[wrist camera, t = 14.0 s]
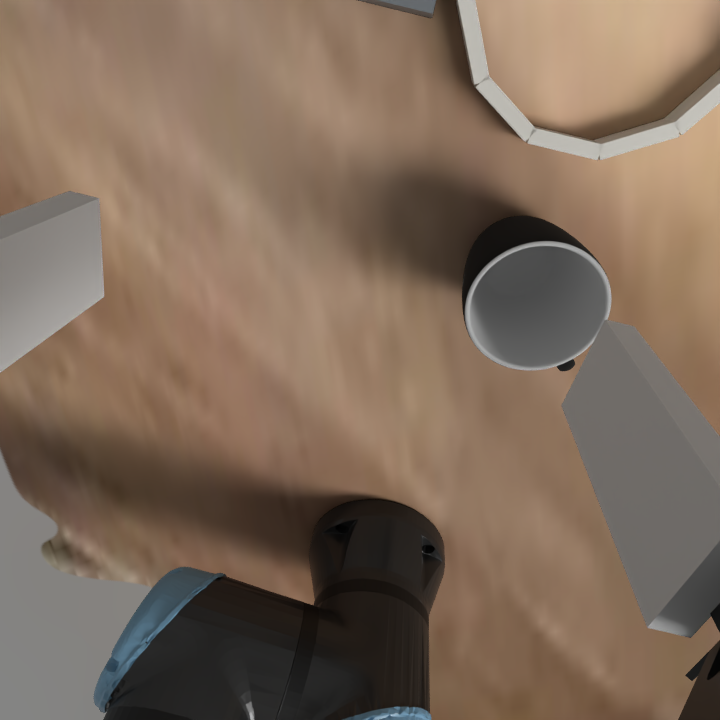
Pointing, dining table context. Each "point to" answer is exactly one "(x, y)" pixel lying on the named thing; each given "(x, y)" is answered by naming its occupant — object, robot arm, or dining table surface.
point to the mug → (533, 295)
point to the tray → (408, 6)
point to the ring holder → (668, 128)
